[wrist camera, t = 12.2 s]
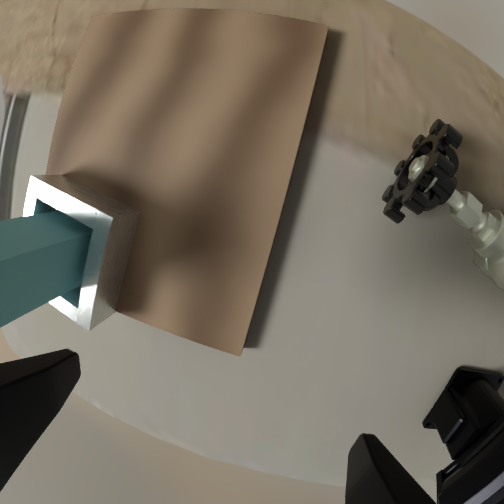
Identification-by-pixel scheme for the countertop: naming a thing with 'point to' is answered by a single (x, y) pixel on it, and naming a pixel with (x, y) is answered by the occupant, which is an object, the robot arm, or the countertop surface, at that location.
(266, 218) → the board
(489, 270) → the valve
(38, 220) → the block
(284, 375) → the countertop surface
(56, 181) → the collar
